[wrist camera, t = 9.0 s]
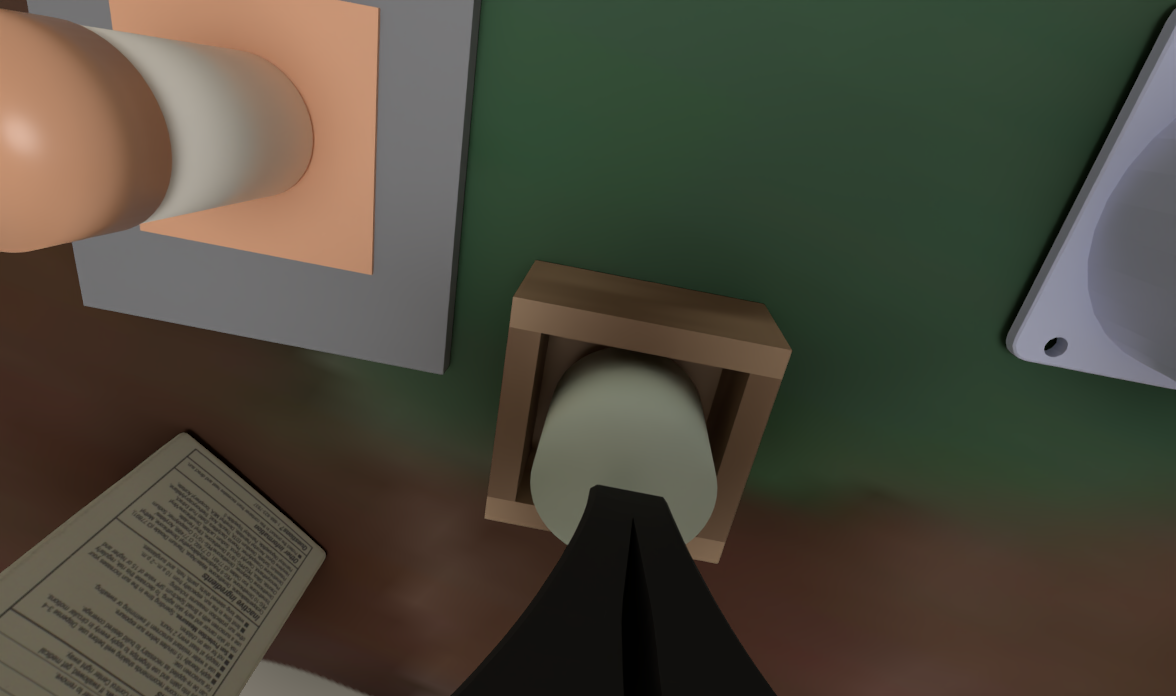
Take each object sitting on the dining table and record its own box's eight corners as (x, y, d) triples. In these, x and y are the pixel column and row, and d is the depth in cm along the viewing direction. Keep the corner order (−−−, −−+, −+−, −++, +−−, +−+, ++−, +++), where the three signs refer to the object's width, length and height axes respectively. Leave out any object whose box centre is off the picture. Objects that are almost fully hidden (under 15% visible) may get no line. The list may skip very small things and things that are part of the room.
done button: (720, 363, 14) (740, 428, 11) (682, 491, 15) (691, 576, 13) (562, 332, 14) (544, 390, 11) (540, 463, 15) (519, 543, 13)
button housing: (764, 303, 15) (792, 350, 12) (705, 490, 18) (717, 563, 15) (535, 260, 15) (513, 296, 12) (508, 452, 18) (484, 518, 15)
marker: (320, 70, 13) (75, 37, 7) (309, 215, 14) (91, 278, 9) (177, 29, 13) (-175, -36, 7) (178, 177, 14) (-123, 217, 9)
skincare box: (111, 488, 19) (-607, 1024, 8) (189, 423, 18) (-537, 955, 7) (258, 610, 21) (-167, 1189, 10) (339, 559, 20) (-47, 1159, 9)
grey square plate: (490, -107, 12) (482, -118, 11) (449, 365, 17) (441, 376, 16) (16, -198, 12) (-19, -214, 12) (102, 298, 17) (80, 306, 16)
